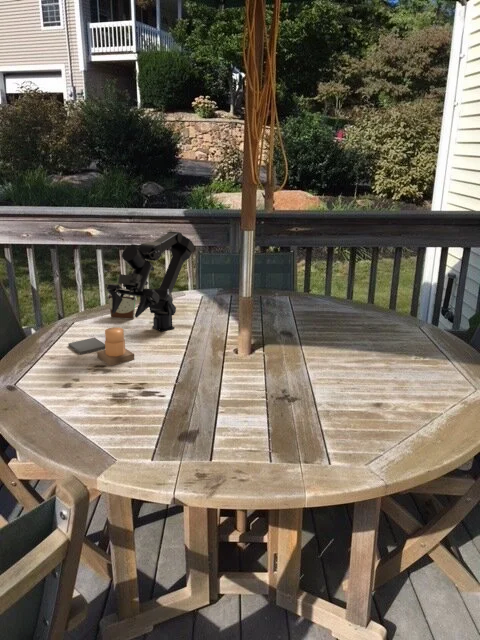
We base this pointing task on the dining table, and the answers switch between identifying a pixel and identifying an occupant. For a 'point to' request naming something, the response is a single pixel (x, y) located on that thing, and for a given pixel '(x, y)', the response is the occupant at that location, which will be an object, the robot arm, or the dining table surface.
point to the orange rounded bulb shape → (114, 341)
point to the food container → (123, 307)
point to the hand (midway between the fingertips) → (124, 315)
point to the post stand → (115, 357)
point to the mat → (87, 345)
